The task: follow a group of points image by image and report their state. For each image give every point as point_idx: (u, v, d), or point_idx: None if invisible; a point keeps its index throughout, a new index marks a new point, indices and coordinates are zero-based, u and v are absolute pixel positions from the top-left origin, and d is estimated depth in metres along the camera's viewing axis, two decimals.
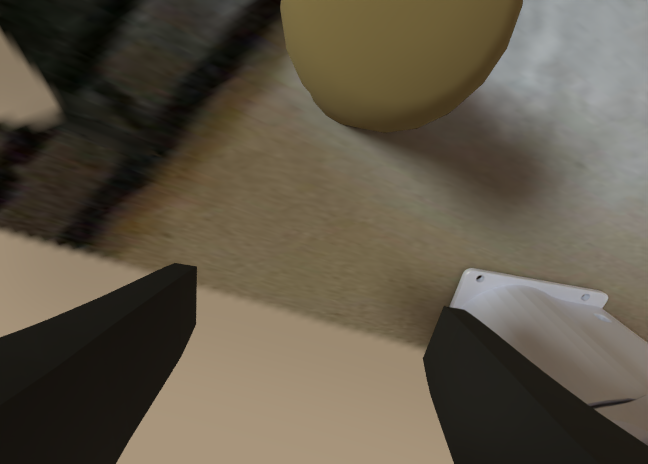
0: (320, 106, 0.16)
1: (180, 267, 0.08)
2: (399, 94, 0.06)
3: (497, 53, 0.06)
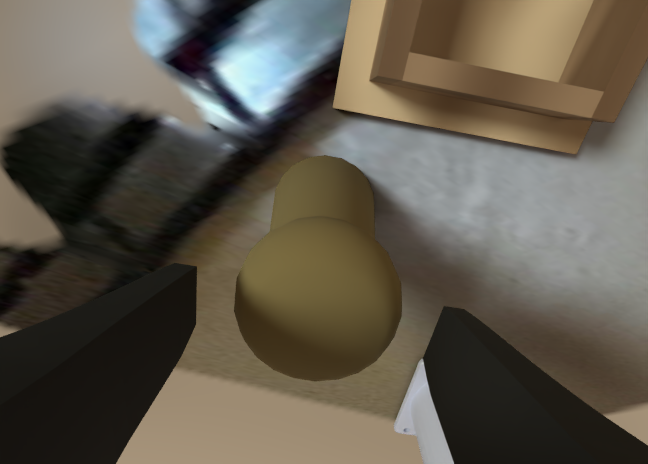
0: None
1: (180, 267, 0.08)
2: (316, 377, 0.09)
3: (384, 350, 0.09)
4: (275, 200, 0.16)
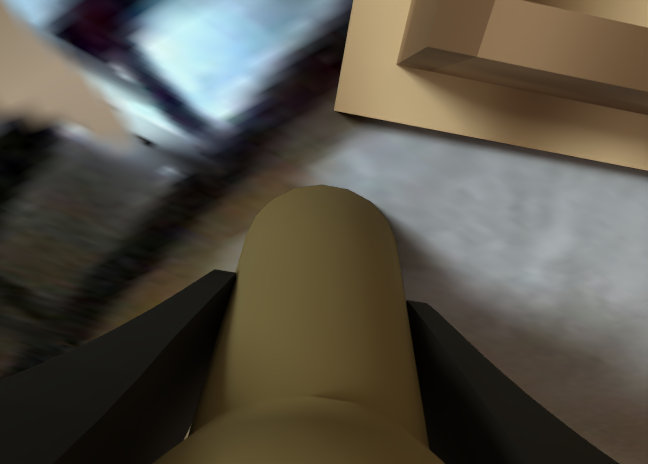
0: None
1: (221, 274, 0.08)
2: None
3: None
4: (239, 264, 0.09)
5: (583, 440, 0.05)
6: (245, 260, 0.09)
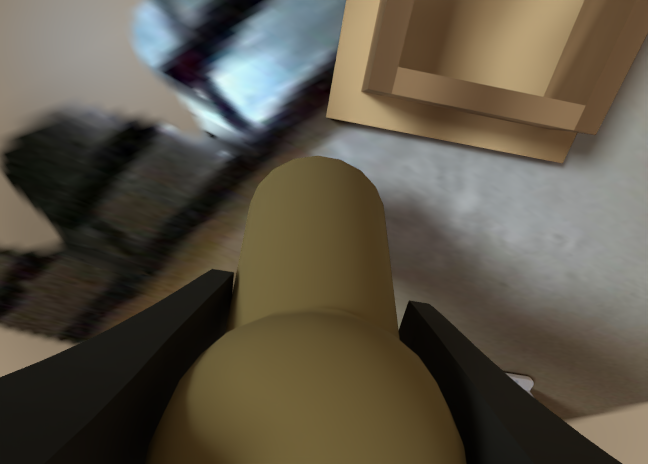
0: None
1: (219, 273, 0.08)
2: None
3: None
4: (247, 226, 0.11)
5: (587, 441, 0.05)
6: (253, 221, 0.10)
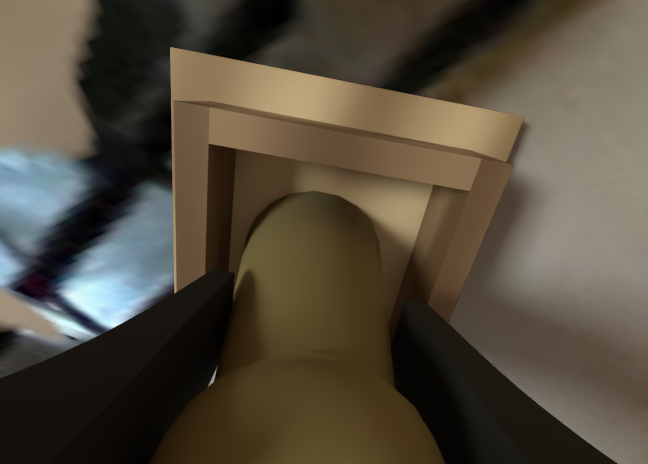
0: None
1: (220, 273, 0.08)
2: None
3: None
4: (243, 258, 0.11)
5: (581, 440, 0.05)
6: (250, 255, 0.10)
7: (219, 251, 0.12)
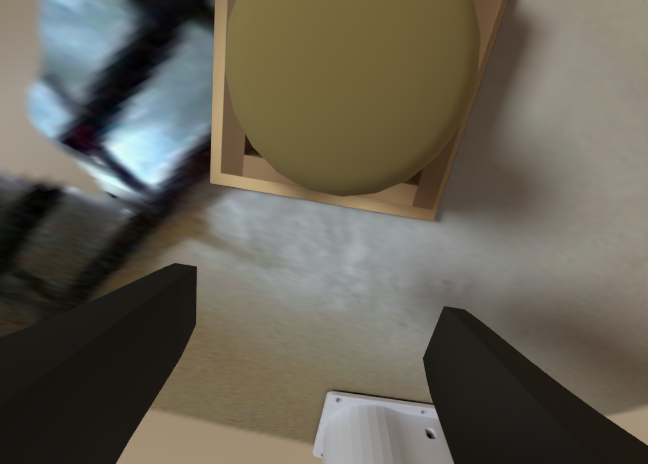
0: None
1: (180, 267, 0.08)
2: (346, 171, 0.06)
3: (450, 132, 0.06)
4: None
5: None
6: None
7: None
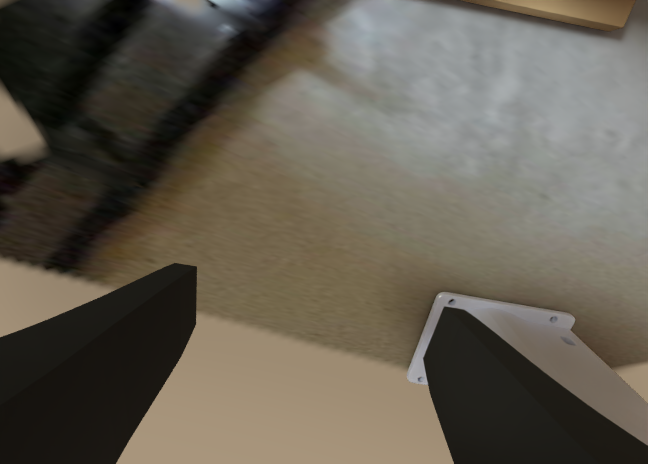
0: None
1: (180, 267, 0.08)
2: None
3: None
4: None
5: None
6: None
7: None
